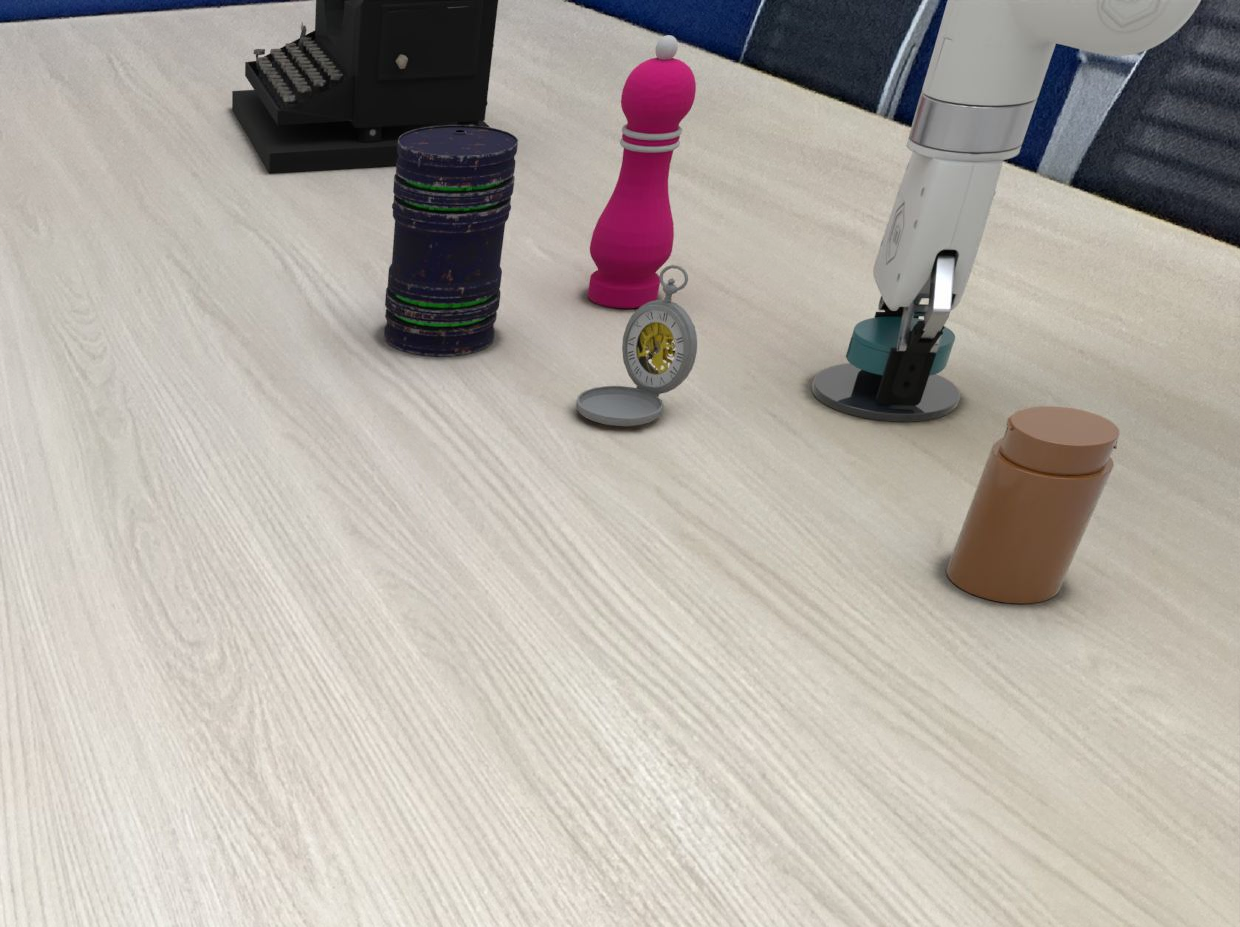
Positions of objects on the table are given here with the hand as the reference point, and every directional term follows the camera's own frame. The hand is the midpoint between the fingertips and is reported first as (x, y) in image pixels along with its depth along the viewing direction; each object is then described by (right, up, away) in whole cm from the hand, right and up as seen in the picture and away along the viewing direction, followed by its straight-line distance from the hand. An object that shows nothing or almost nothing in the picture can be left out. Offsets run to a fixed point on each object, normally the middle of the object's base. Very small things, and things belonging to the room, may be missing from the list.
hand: (889, 382), depth 114 cm
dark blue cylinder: (-34, +10, +13) cm, 37 cm away
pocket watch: (-21, -3, 0) cm, 21 cm away
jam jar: (-3, -23, -21) cm, 31 cm away
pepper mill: (-16, +16, +18) cm, 29 cm away
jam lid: (0, +2, -2) cm, 3 cm away
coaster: (0, -1, +1) cm, 1 cm away
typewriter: (-34, +60, +62) cm, 93 cm away
